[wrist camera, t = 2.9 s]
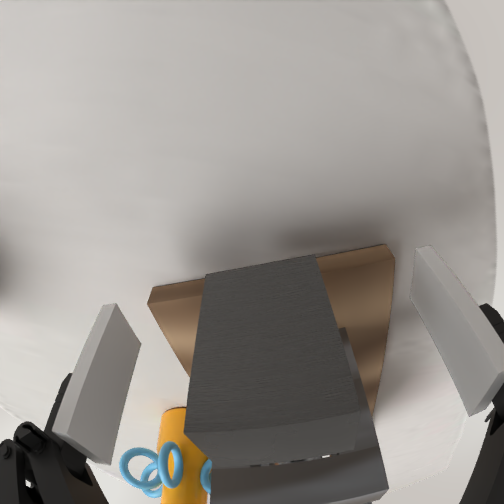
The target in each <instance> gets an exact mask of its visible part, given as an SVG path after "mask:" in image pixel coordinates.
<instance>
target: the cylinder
mask: <svg viewBox="0 0 504 504" xmlns="http://www.w3.org/2000/svg"><path fill="white" fill-rule="evenodd" d="M185 415H186V408H175V409H170V410H168V411H166V412H165V413H164V414H163V415H162V418H161V424H160V430H159V436H158V443H157V453H158V455H157V454H156V453H155V452H153V451H151V450H149V449H146V448H132V449H130V450H128V451H126V452H125V453H124V454H123V455H122V457H121V459H120V463H119V468H120V472H121V474H122V476H123V478H124V479H125V480H126V481H127V482H128V483H129V484H130V485H132V486H134V487H136V488H139V489H142V491H143V492H144V493H145V494H146V495H147V496H149V497H152V498H157V497H161V504H207V494H208V493H209V494H210V493H211V469H212V461H211V460H210V459H209V458H208V457H207V456H206V455H205V454H204V453H203V452H202V451H201V450H200V449H199V448H198V447H197V446H196V445H195V444H194V443H193V442H192V441H191V440H190V439H189V438H188V437H187V436H186V435H185V434H184V433H183V432H184V423H185ZM138 455H143V456H146V457H149V458H150V459H152V460H153V461H154V462H153V463H151V464H149V465H148V466H147V467H146V468H145V469H144V471H143V473H142V475H141V479H140V481H139V480H137V479H135V478H134V477H133V476H132V475H131V474H130V472H129V470H128V463H129V461H130V459H131V458H132V457H134V456H138ZM155 469H158V472H157V475H156V477H155V478H154V479H153V480H151V481H148V478H149V476H150V474H151V472H152V471H153V470H155ZM162 482H163V483H162ZM161 483H162V485H161V487H160V488H159V489H157V490H155V491H151V490H150V489H153V488H156V487H158V486H159V485H160V484H161Z"/></svg>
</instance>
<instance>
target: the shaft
mask: <svg viewBox="0 0 504 504" xmlns="http://www.w3.org/2000/svg"><path fill="white" fill-rule="evenodd" d="M360 414H361V409H360V405H359V401H358V397H357V393H356V390H355V386H354V382H353V378H352V375H351V371H350V368H349V364H348V360H347V357H346V353H345V350H344V346H343V343H342V340H341V336H340V333H339V329H338V326H337V323H336V320H335V316H334V313H333V310H332V307H331V303H330V300H329V297H328V294H327V291H326V288H325V284H324V281H323V278H322V275H321V272H320V269H319V266H318V263H317V260H316V257H315V254H314V255H308V256H303V257H298V258H293V259H287V260H282V261H277V262H271V263H266V264H261V265H255V266H250V267H244V268H239V269H234V270H228V271H223V272H217V273H212V274H206V276H205V282H204V289H203V295H202V301H201V307H200V314H199V320H198V327H197V333H196V340H195V347H194V354H193V361H192V368H191V376H190V383H189V391H188V399H187V407H186V415H185V423H184V432H183V433H184V434H185V435H186V436H187V437H188V438H189V439H190V440H191V441H192V442H193V443H194V444H195V445H196V446H197V447H198V448H199V449H200V450H201V451H202V452H203V453H204V454H205V455H206V456H207V457H208V458H209V459H210V460H211V461H212V462H213V463H214V464H215V465H216V466H217V467H227V466H246V465H259V464H270V463H279V465H280V464H288V463H296V462H302V461H309V460H315V459H321V458H322V456H326V455H331V454H336V453H341V452H345V451H350V450H354V447H355V442H356V437H357V431H358V426H359V420H360Z"/></svg>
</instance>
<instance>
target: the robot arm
mask: <svg viewBox="0 0 504 504" xmlns="http://www.w3.org/2000/svg"><path fill="white" fill-rule="evenodd" d="M410 299H411V301H412V302H413V304H414V306H415V308H416V309H417V311H418V313H419V315H420V317H421V318H422V320H423V322H424V324H425V326H426V328H427V329H428V331H429V333H430V335H431V337H432V339H433V341H434V343H435V345H436V346H437V348H438V350H439V352H440V354H441V356H442V358H443V360H444V362H445V364H446V366H447V369H448V371H449V373H450V375H451V377H452V379H453V381H454V383H455V386H456V388H457V390H458V392H459V394H460V397H461V399H462V401H463V403H464V406H465V408H466V410H467V413H468V415H469V417H470V416H472V415H474V414H476V413H479V412H481V411H483V410H485V409H486V408H487V407H488V405H489V404H490V403H491V401H492V402H493V404H494V408H493V410H492V411H491V412H490V414H489V415H488V416H487V418H486V420H485V422H487V421H488V420H489V419H490V422H489V426H488V429H487V432H486V436H485V439H484V442H483V445H482V448H481V451H480V454H479V457H478V460H477V462H476V465H475V468H474V471H473V473H472V476H471V478H470V480H469V483H468V485H467V488H466V490H465V492H464V495H463V497H462V499H461V501H460V503H459V504H504V320H503V319H502V317H501V316H500V314H499V313H498V312H497V311H496V310H495V309H494V308H492V307H491V306H490V305H488V304H487V303H486V304H484V305H481V306H478V305H477V304H476V302H475V301H474V299H473V298H472V297H471V295H470V294H469V293H468V291H467V290H466V289H465V287H464V286H463V285H462V283H461V282H460V281H459V279H458V278H457V277H456V276H455V274H454V273H453V272H452V270H451V269H450V268H449V267H448V265H447V264H446V263H445V262H444V260H443V259H442V258H441V257H440V256H439V254H438V253H437V252H436V251H435V250H434V248H433V247H432V246H431V245H429V246H424V247H420V248H416V250H415V260H414V270H413V278H412V286H411V293H410ZM140 347H141V343H140V341H139V340H138V338H137V337H136V335H135V333H134V332H133V330H132V329H131V327H130V325H129V324H128V322H127V320H126V319H125V317H124V315H123V314H122V312H121V310H120V309H119V307H118V305H117V304H116V303H114V304H108V305H103V306H102V308H101V310H100V312H99V315H98V317H97V319H96V321H95V323H94V325H93V327H92V330H91V332H90V334H89V336H88V338H87V341H86V343H85V345H84V348H83V350H82V352H81V355H80V357H79V359H78V362H77V364H76V366H75V369H74V371H73V373H69V374H68V376H67V377H66V378H65V379H64V381H63V382H62V384H61V387H60V389H59V392H58V393H59V394H58V395H57V397H56V399H55V403H54V405H53V407H52V410H51V413H50V416H49V418H48V421H47V424H46V427H45V430H44V432H43V431H42V430H40V429H39V428H38V427H37V426H36V425H34V424H33V423H32V422H27V421H26V422H24V423H22V424H20V426H18V427H17V429H16V431H15V433H14V437H13V441H12V440H10V439H6V440H4V441H2V443H1V444H0V504H109V503H108V501H107V499H106V498H105V496H104V494H103V492H102V490H101V488H100V486H99V484H98V482H97V481H96V478H95V476H94V475H93V472H92V470H91V468H90V466H89V465H88V464H87V463H86V459H87V458H89V459H90V460H92V461H93V462H95V463H98V464H104V465H111V461H112V457H113V452H114V447H115V443H116V438H117V434H118V430H119V425H120V421H121V417H122V413H123V409H124V405H125V401H126V397H127V393H128V390H129V386H130V382H131V378H132V375H133V371H134V368H135V364H136V360H137V357H138V354H139V350H140ZM25 479H26V480H27V481H29V482H31V487H28V486H26V481H25Z"/></svg>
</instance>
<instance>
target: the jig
mask: <svg viewBox="0 0 504 504" xmlns="http://www.w3.org/2000/svg"><path fill="white" fill-rule="evenodd" d="M316 260H317V263H318V266H319V269H320V272H321V275H322V278H323V281H324V284H325V288H326V291H327V294H328V297H329V300H330V303H331V307H332V310H333V313H334V316H335V320H336V323H337V326H338V329H339V333H340V336H341V340H342V343H343V346H344V350H345V353H346V357H347V360H348V364H349V368H350V371H351V375H352V378H353V382H354V386H355V390H356V393H357V397H358V401H359V405H360V409H361V414H360V420H359V426H358V431H357V437H356V442H355V447H354V450H350V451H345V452H341V453H336V454H331V457H326V458H321V459H315V460H309V461H302V462H296V463H288V464H280V465H275V463H270V464H259V465H246V466H227V467H217V466H216V465H215V464H214V463H213V462H212V469H211V493H210V504H372V501H376V500H379V499H380V498H381V497H382V496H383V495H384V494H385V493H386V492H387V490H388V489H389V486H388V481H387V477H386V473H385V468H384V464H383V460H382V455H381V451H380V447H379V443H378V439H377V435H376V431H375V427H374V424H373V420H372V415H373V411H374V406H375V402H376V397H377V392H378V387H379V382H380V377H381V372H382V366H383V361H384V355H385V348H386V342H387V335H388V328H389V320H390V312H391V303H392V293H393V282H394V269H395V257H394V256H393V254H392V253H391V251H390V250H389V249H388V247H387V246H386V244H384V245H379V246H374V247H369V248H364V249H359V250H354V251H349V252H344V253H339V254H334V255H329V256H323V257H318V258H316ZM204 282H205V279H199V280H193V281H188V282H182V283H176V284H170V285H165V286H159V287H153V288H152V291H151V294H150V297H149V300H148V303H147V305H148V307H149V308H150V310H151V312H152V314H153V316H154V318H155V320H156V321H157V323H158V325H159V327H160V328H161V330H162V332H163V334H164V336H165V337H166V339H167V341H168V342H169V344H170V346H171V348H172V349H173V351H174V353H175V354H176V356H177V358H178V359H179V361H180V363H181V364H182V366H183V368H184V369H185V371H186V372H187V374H188V376H189V377H190V376H191V368H192V361H193V354H194V347H195V340H196V333H197V327H198V320H199V314H200V307H201V301H202V295H203V289H204Z"/></svg>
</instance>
